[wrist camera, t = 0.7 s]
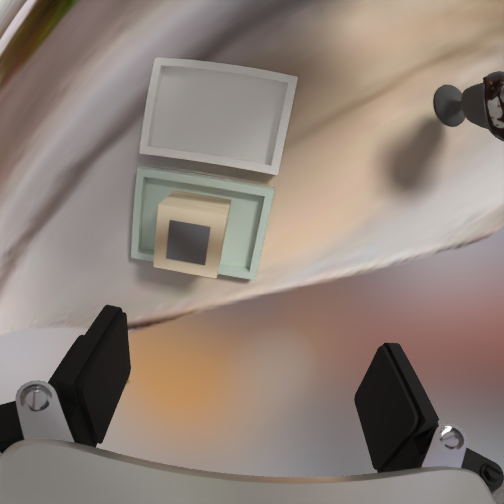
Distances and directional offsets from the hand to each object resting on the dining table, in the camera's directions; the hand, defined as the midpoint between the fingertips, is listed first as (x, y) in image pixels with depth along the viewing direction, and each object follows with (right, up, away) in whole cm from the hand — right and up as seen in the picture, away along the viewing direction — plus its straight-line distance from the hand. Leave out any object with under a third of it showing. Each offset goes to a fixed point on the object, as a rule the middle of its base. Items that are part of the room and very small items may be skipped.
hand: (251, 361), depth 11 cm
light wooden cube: (-6, +7, +23) cm, 24 cm away
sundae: (+23, +21, +17) cm, 35 cm away
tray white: (-3, +18, +19) cm, 26 cm away
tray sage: (-6, +7, +23) cm, 25 cm away
